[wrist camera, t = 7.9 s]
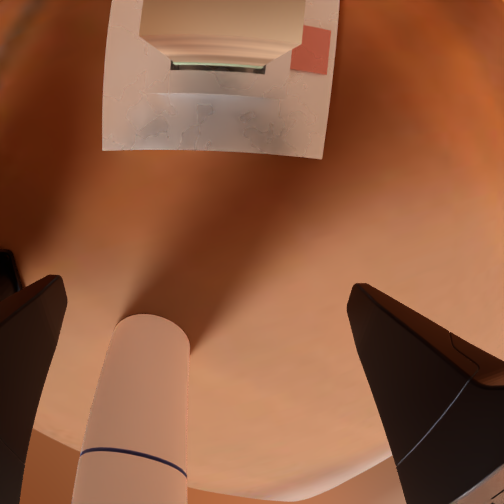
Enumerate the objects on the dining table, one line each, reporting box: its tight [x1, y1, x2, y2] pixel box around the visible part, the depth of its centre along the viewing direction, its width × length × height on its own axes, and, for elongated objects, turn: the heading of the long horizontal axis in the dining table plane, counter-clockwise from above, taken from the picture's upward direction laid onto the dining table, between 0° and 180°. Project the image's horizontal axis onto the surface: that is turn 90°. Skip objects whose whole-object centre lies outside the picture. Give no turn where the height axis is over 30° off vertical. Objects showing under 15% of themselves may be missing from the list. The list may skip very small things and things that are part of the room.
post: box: [139, 0, 306, 69], centre depth 9 cm, size 4×4×8 cm
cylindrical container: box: [72, 314, 190, 504], centre depth 16 cm, size 7×7×25 cm
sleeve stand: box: [102, 0, 340, 159], centre depth 14 cm, size 14×14×4 cm
